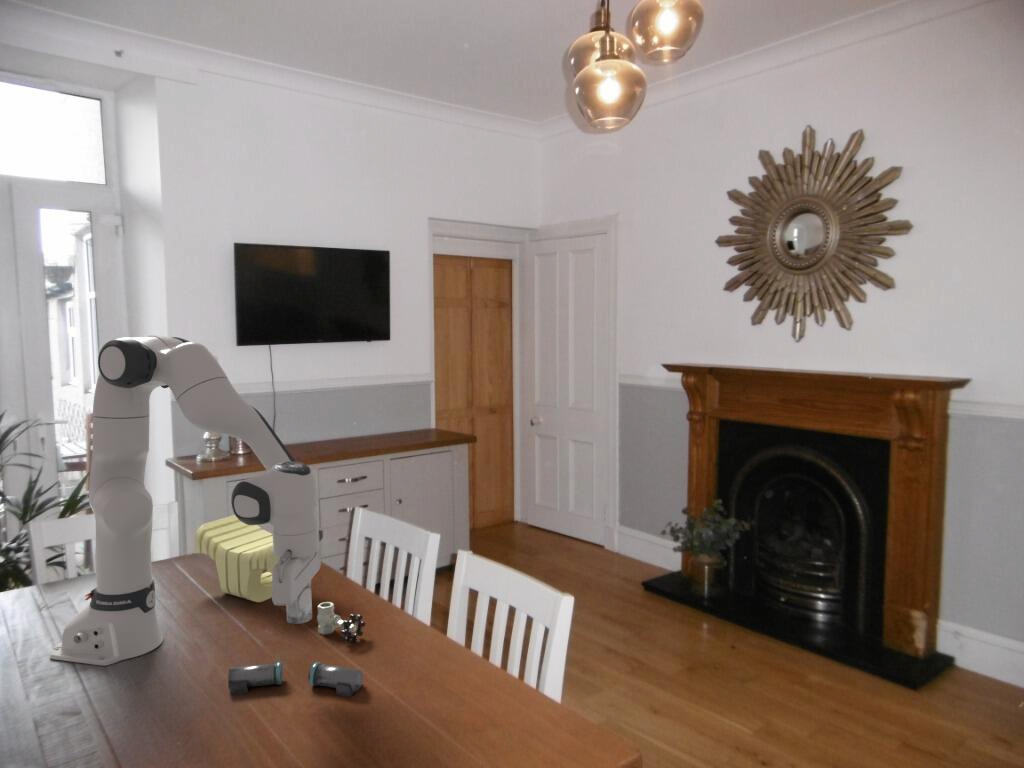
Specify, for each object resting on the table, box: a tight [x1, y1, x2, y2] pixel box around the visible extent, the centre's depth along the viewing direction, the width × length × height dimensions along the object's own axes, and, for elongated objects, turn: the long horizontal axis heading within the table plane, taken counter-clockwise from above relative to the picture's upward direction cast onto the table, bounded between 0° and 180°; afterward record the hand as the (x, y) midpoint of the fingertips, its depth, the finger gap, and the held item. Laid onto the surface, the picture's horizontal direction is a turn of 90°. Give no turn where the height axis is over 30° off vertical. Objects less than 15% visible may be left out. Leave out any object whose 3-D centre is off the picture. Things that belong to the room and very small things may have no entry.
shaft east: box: [307, 661, 364, 698], centre depth 146 cm, size 10×5×4 cm, turn 73°
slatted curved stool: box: [194, 514, 280, 603], centre depth 195 cm, size 30×16×18 cm, turn 60°
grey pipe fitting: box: [227, 661, 284, 696], centre depth 146 cm, size 10×5×4 cm, turn 103°
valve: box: [316, 601, 366, 643], centre depth 169 cm, size 7×7×12 cm
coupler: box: [285, 586, 313, 625], centre depth 147 cm, size 5×5×6 cm
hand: (299, 608), depth 147 cm, fingers closed on coupler, 5 cm apart
